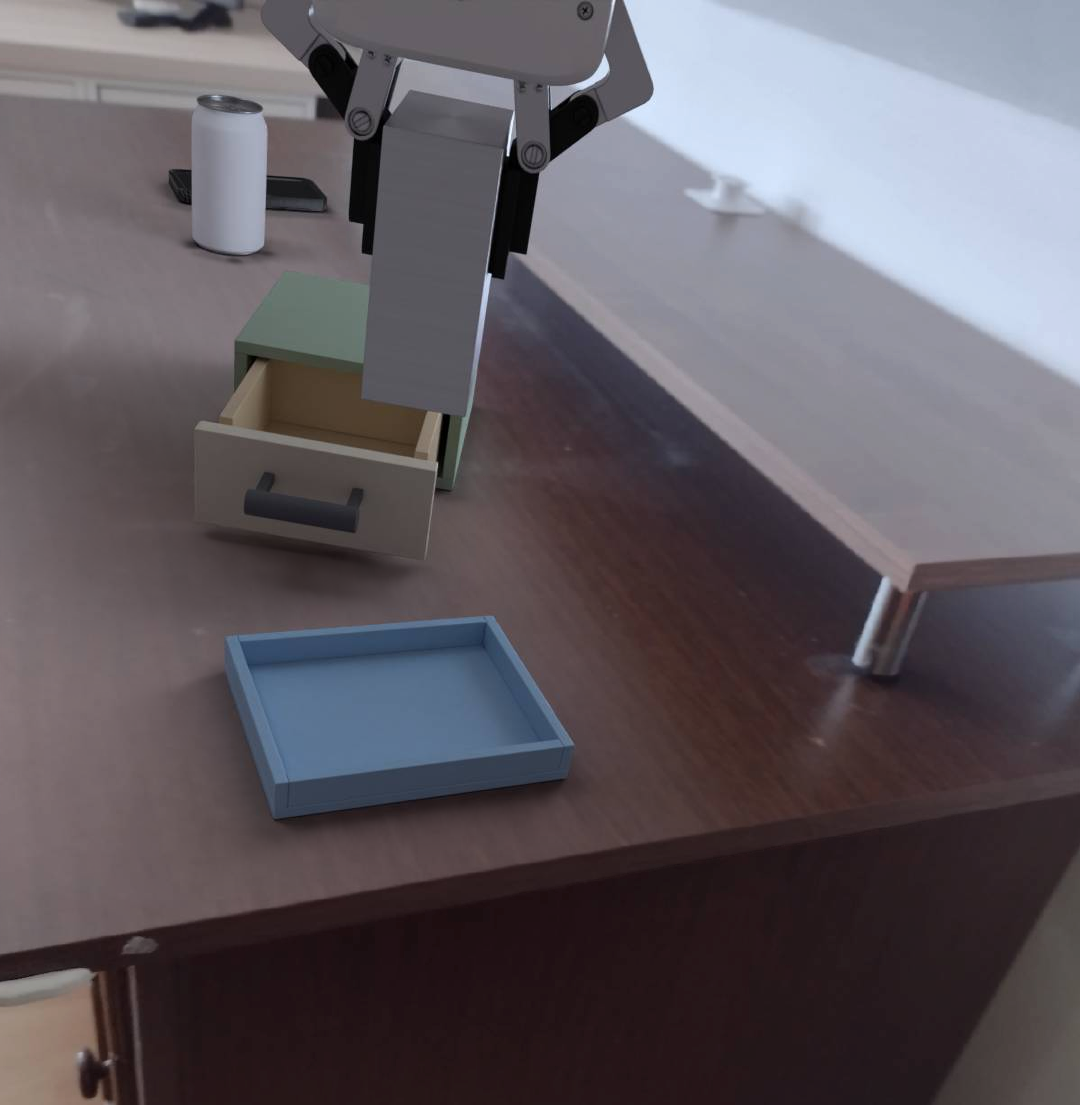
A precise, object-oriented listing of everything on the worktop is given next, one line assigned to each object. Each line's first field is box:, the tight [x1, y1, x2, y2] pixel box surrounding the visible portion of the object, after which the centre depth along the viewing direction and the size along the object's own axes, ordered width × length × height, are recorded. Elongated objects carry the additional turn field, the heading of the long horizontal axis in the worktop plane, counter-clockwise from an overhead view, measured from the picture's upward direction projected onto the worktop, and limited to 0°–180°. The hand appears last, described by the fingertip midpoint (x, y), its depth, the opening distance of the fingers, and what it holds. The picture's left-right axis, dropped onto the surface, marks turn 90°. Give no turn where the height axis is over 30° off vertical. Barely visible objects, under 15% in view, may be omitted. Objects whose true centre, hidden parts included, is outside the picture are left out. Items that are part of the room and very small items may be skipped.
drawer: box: [193, 356, 444, 562], centre depth 71 cm, size 17×13×6 cm
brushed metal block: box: [361, 89, 515, 417], centre depth 47 cm, size 4×7×10 cm, turn 178°
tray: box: [224, 615, 575, 820], centre depth 58 cm, size 14×11×2 cm
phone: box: [168, 168, 328, 212], centre depth 123 cm, size 8×1×15 cm
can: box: [191, 94, 268, 256], centre depth 107 cm, size 6×6×12 cm
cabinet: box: [233, 269, 480, 492], centre depth 82 cm, size 15×15×8 cm
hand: (437, 251), depth 47 cm, fingers closed on brushed metal block, 4 cm apart
